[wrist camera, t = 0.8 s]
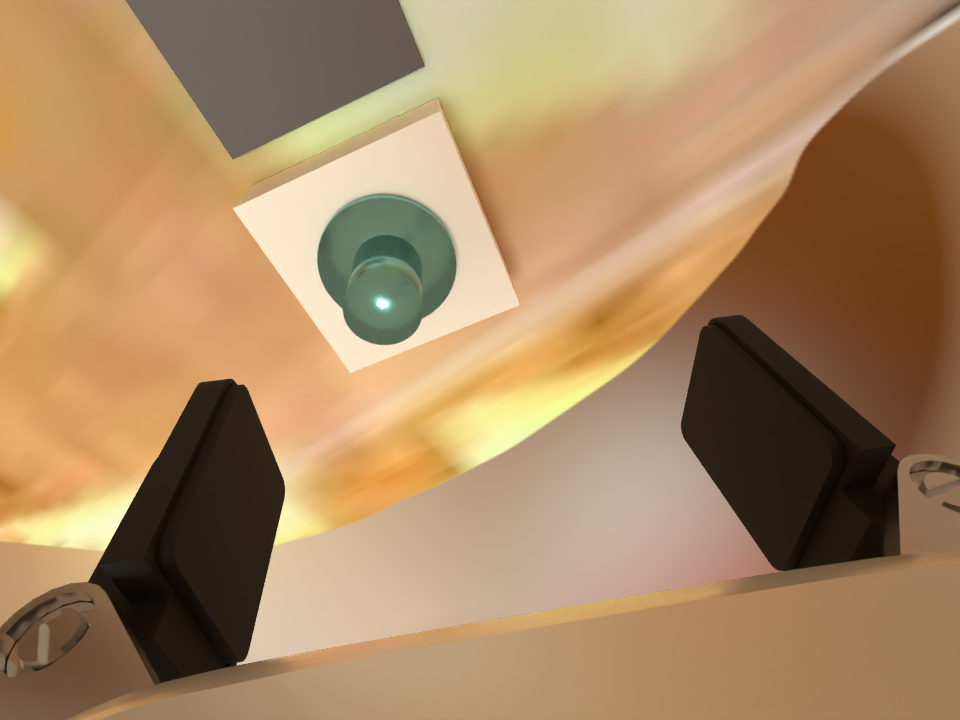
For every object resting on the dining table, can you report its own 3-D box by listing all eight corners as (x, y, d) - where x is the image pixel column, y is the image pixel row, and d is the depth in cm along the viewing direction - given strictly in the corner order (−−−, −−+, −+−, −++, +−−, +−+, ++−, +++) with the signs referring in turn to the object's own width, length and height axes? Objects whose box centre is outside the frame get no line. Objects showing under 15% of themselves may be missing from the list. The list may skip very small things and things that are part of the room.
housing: (437, 97, 33) (440, 110, 29) (510, 274, 41) (520, 304, 37) (254, 184, 35) (232, 208, 31) (356, 337, 43) (350, 372, 39)
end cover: (419, 151, 35) (420, 207, 25) (470, 262, 40) (486, 343, 31) (305, 204, 36) (265, 276, 27) (368, 305, 41) (353, 396, 32)
